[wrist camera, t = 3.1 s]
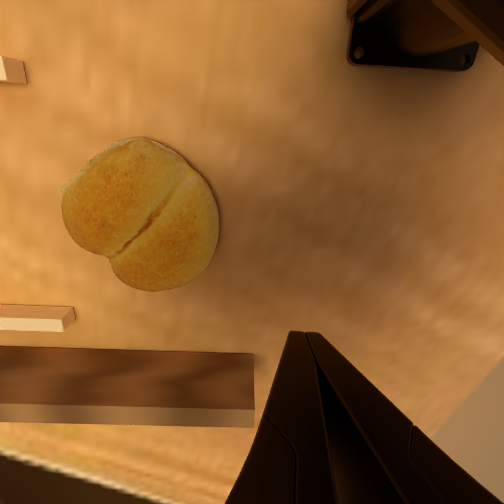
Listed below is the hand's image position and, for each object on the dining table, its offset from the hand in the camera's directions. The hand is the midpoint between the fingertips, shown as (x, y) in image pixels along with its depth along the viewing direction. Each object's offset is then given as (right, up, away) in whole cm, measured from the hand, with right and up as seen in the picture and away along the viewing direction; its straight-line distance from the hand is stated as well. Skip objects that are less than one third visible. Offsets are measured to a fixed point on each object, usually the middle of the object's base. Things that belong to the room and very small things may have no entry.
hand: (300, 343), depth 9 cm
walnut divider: (-12, -6, +15) cm, 20 cm away
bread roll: (-8, +5, +11) cm, 15 cm away
